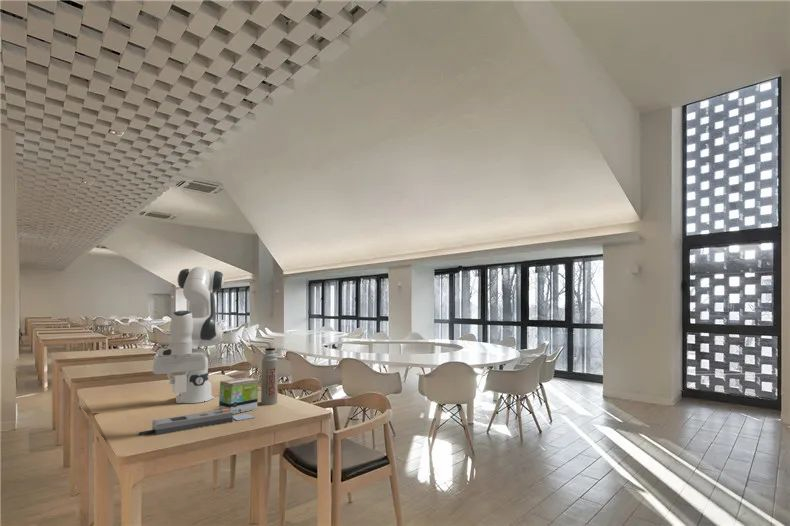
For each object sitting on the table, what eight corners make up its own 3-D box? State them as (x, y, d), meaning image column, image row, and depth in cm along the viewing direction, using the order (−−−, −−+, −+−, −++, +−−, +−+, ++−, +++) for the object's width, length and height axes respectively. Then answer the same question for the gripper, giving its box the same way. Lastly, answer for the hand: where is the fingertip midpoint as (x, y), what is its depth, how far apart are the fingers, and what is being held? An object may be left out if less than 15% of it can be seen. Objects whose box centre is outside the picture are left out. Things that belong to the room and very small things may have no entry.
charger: (172, 391, 189) (172, 374, 190) (183, 390, 192) (184, 373, 193) (174, 393, 186) (175, 375, 186) (186, 392, 189) (186, 374, 189)
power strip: (136, 432, 182) (137, 420, 182) (226, 418, 204) (226, 407, 204) (140, 437, 176) (140, 425, 176) (232, 421, 198) (232, 410, 198)
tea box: (230, 415, 208) (231, 383, 209) (218, 412, 214) (219, 380, 216) (258, 409, 220) (258, 378, 221) (245, 406, 226) (246, 376, 227)
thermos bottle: (277, 404, 230) (278, 348, 233) (260, 405, 228) (262, 349, 230) (277, 400, 238) (277, 347, 240) (261, 401, 236) (262, 347, 238)
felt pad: (230, 417, 205) (230, 416, 205) (248, 414, 210) (248, 413, 210) (237, 421, 199) (237, 420, 199) (254, 418, 204) (254, 417, 204)
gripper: (204, 347, 199) (203, 379, 198) (152, 350, 187) (151, 384, 186) (208, 348, 194) (207, 381, 193) (155, 352, 182) (154, 387, 181)
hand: (179, 383), depth 189 cm, fingers closed on charger, 4 cm apart
